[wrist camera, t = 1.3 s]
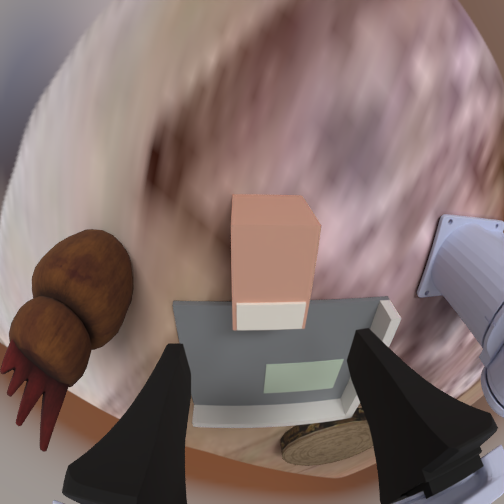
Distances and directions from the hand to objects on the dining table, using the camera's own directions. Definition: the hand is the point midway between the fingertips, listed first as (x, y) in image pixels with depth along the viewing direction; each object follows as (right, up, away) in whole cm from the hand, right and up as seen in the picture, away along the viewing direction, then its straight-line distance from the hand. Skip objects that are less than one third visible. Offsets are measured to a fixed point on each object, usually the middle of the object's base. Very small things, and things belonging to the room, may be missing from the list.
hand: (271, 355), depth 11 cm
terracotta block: (0, +5, +9) cm, 10 cm away
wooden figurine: (-12, +4, +9) cm, 15 cm away
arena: (+2, -7, +15) cm, 17 cm away
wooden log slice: (+11, -23, +25) cm, 36 cm away
